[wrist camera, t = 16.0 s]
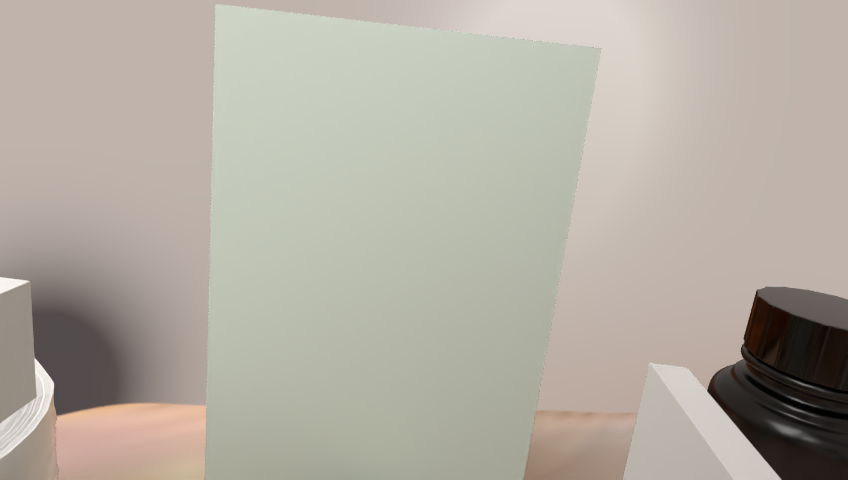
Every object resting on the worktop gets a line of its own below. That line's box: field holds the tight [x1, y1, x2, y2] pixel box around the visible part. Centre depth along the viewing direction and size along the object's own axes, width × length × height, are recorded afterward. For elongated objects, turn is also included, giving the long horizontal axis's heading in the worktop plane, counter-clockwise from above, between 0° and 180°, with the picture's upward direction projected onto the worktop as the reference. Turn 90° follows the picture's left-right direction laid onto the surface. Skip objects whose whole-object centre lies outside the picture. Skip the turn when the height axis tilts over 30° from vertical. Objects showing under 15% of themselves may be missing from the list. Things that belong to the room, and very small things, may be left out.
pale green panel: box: [205, 4, 601, 480], centre depth 20 cm, size 11×3×22 cm, turn 87°
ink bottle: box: [707, 287, 848, 480], centre depth 31 cm, size 10×9×12 cm
